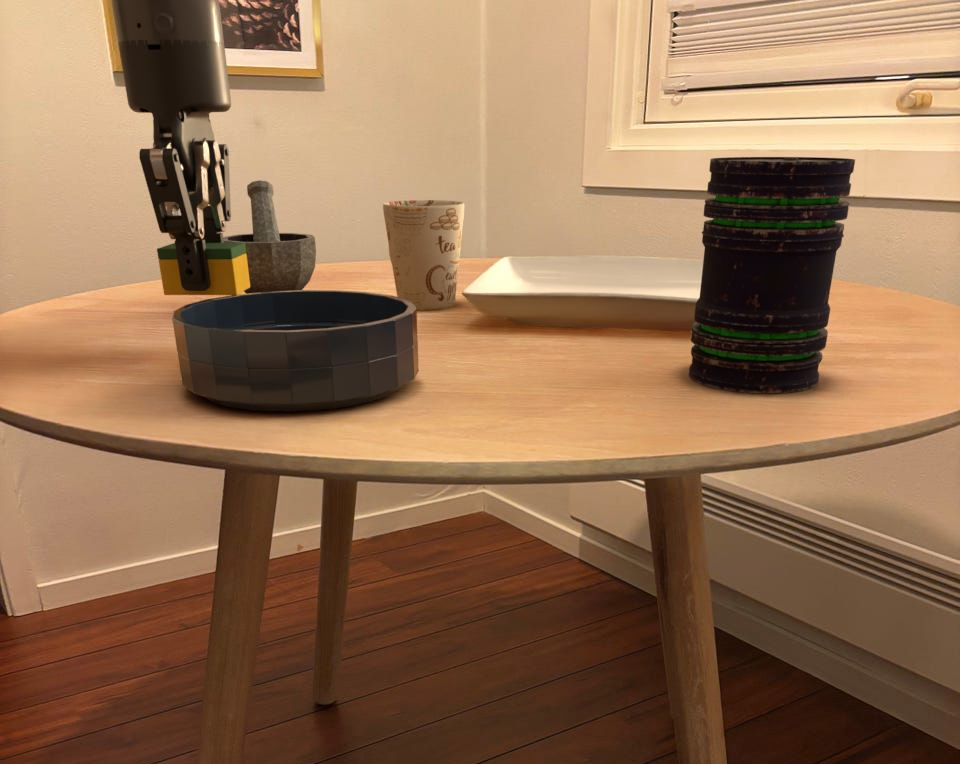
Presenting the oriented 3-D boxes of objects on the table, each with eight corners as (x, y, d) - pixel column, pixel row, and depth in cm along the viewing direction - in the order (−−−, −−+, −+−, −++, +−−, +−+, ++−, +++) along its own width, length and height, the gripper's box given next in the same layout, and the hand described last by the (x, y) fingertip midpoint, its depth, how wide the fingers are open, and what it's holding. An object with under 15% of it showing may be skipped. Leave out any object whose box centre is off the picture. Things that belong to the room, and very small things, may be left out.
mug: (412, 314, 96) (408, 207, 92) (356, 298, 106) (350, 200, 101) (480, 306, 100) (480, 203, 96) (420, 291, 110) (417, 196, 105)
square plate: (459, 331, 89) (458, 288, 87) (504, 287, 112) (504, 252, 110) (756, 340, 84) (762, 295, 82) (738, 292, 108) (742, 256, 106)
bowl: (148, 414, 64) (134, 330, 61) (225, 358, 79) (216, 289, 76) (401, 418, 63) (397, 333, 60) (429, 360, 78) (427, 290, 75)
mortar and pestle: (324, 313, 98) (313, 184, 92) (231, 317, 95) (214, 186, 90) (312, 296, 107) (302, 178, 101) (228, 300, 105) (213, 180, 99)
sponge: (163, 295, 76) (156, 248, 75) (180, 287, 80) (174, 242, 78) (236, 295, 76) (230, 248, 74) (250, 287, 79) (245, 242, 78)
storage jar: (803, 400, 66) (841, 162, 59) (669, 384, 71) (690, 160, 64) (831, 371, 74) (868, 157, 67) (709, 358, 78) (731, 156, 71)
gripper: (156, 46, 76) (190, 273, 84) (79, 31, 63) (127, 300, 72) (248, 44, 75) (273, 273, 84) (188, 29, 63) (224, 300, 71)
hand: (205, 284), depth 78 cm, fingers closed on sponge, 4 cm apart
